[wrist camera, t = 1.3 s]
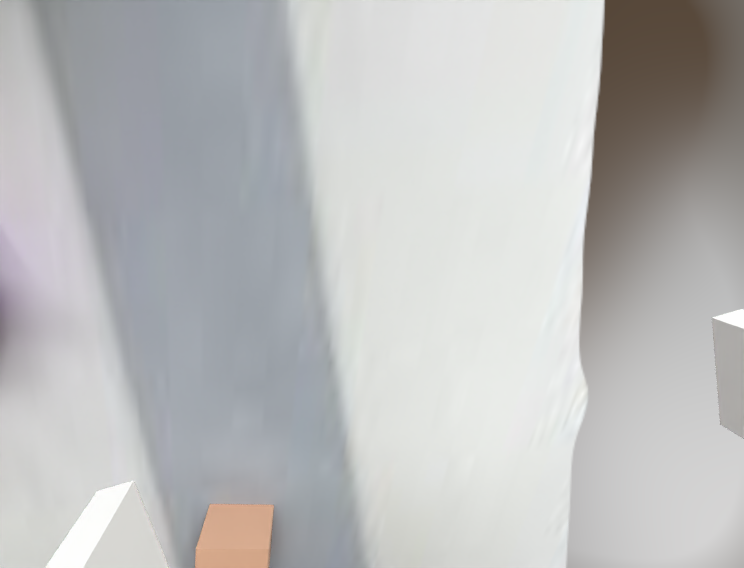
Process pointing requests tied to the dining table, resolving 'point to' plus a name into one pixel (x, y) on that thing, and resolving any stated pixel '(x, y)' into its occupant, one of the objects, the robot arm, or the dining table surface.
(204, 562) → the terracotta cube
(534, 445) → the dining table surface
